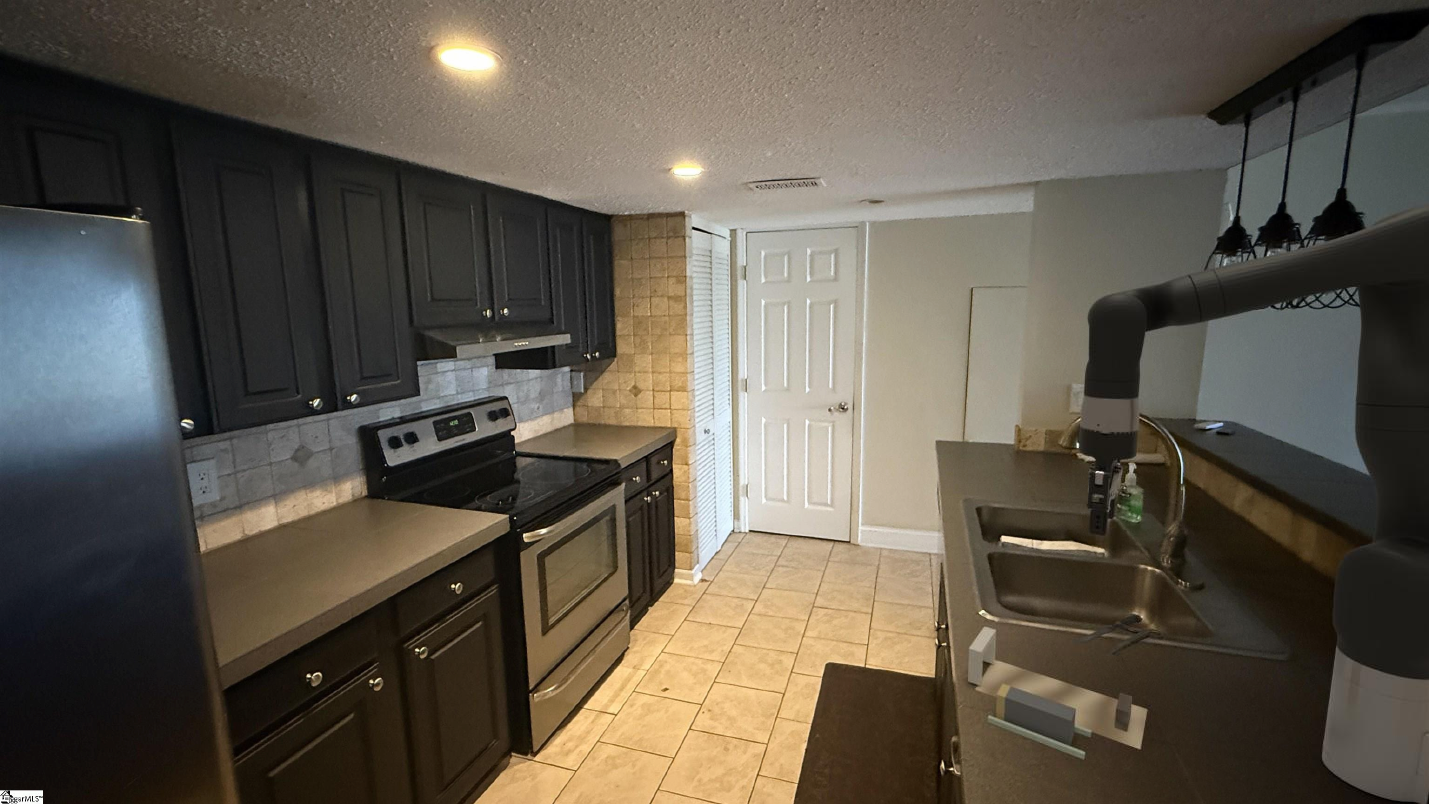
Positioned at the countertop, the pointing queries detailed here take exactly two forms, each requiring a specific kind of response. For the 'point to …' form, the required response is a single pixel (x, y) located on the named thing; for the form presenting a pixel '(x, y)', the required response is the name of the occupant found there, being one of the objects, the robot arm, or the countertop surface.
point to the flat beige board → (1074, 702)
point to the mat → (1041, 738)
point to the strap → (981, 654)
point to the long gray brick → (1036, 714)
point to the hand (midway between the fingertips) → (1102, 525)
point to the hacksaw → (1123, 624)
